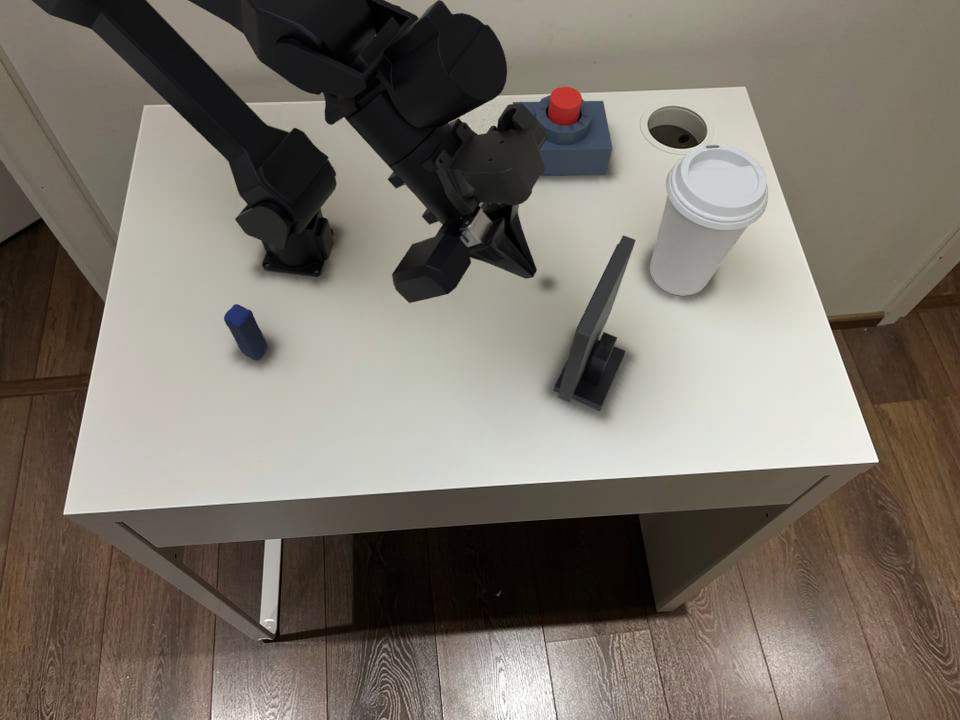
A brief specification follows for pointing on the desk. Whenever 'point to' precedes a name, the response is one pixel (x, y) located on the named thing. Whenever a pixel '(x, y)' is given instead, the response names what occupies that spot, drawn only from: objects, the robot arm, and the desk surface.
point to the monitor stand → (597, 373)
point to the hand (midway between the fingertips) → (531, 275)
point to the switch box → (574, 140)
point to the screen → (595, 317)
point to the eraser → (246, 331)
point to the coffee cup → (705, 215)
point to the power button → (564, 106)
